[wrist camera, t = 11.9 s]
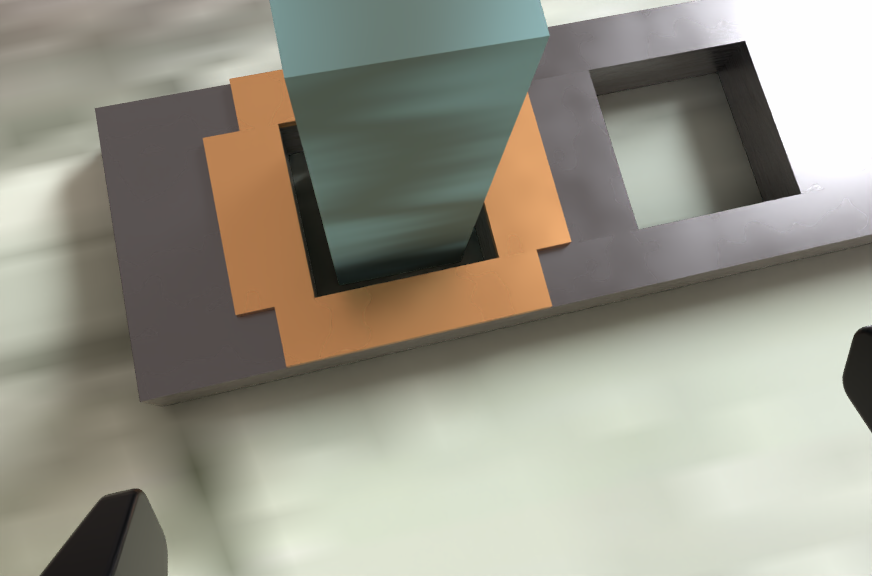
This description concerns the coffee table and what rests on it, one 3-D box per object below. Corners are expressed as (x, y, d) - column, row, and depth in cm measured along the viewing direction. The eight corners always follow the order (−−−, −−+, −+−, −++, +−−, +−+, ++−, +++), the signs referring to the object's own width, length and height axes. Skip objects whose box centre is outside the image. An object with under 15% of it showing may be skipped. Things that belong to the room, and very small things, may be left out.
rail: (832, 5, 27) (873, -37, 24) (923, 230, 25) (976, 208, 23) (118, 137, 24) (90, 103, 21) (161, 406, 22) (136, 401, 19)
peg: (434, 149, 24) (489, -183, 12) (460, 261, 23) (549, 36, 11) (316, 170, 24) (240, -152, 11) (339, 285, 23) (284, 78, 10)
